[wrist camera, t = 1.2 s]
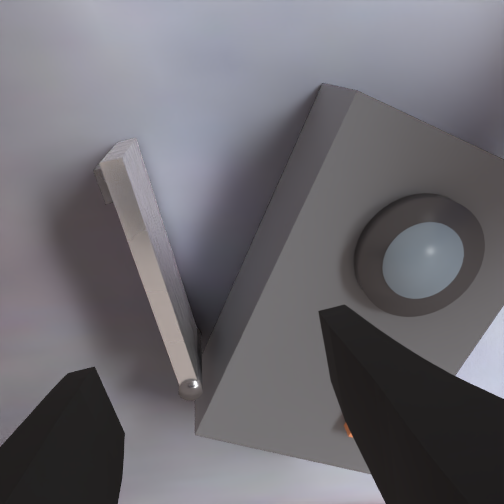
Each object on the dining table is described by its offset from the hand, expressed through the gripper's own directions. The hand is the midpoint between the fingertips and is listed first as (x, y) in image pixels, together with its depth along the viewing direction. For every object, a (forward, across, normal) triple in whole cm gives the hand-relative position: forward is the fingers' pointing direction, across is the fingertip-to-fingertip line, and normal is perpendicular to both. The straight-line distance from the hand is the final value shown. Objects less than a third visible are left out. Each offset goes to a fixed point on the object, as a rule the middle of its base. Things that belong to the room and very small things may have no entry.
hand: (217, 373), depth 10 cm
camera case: (+9, -5, +4) cm, 11 cm away
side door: (+9, +2, 0) cm, 9 cm away
